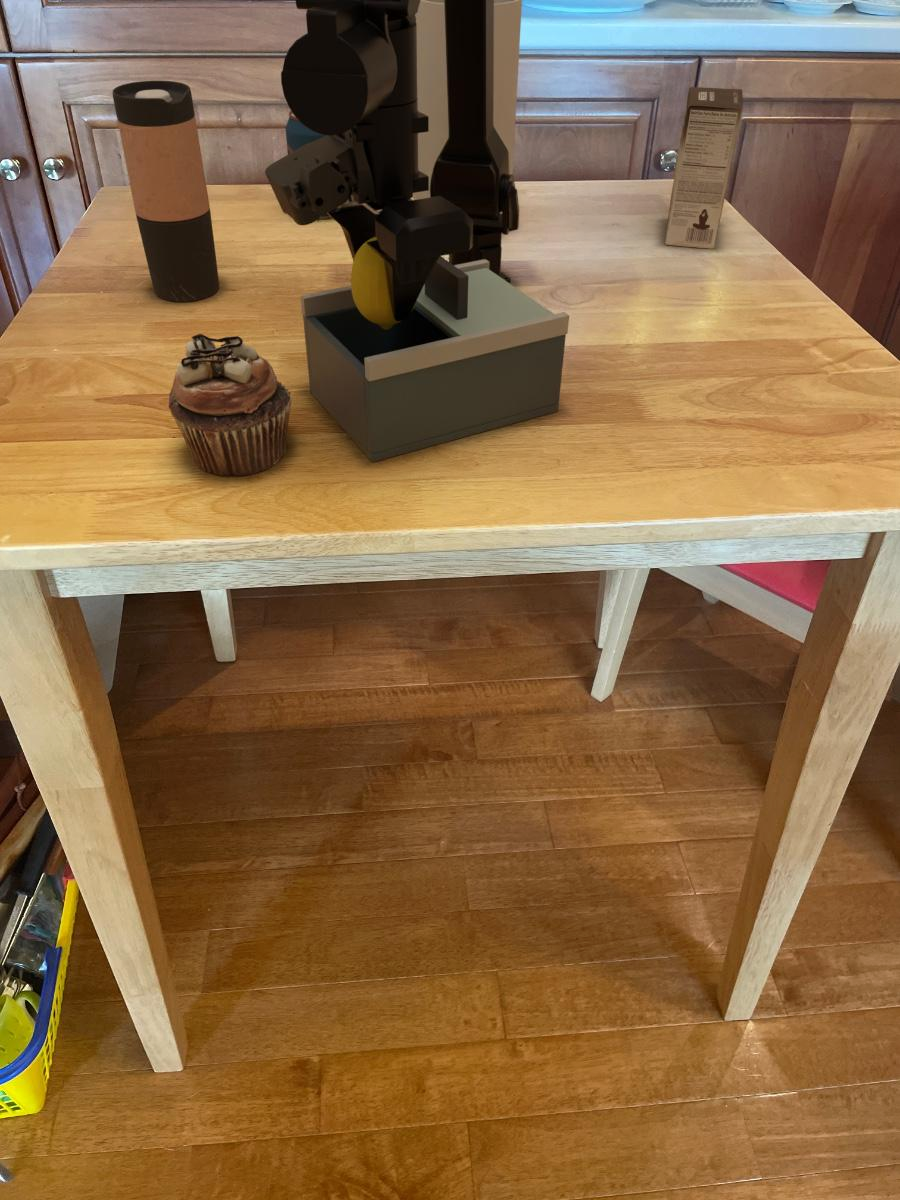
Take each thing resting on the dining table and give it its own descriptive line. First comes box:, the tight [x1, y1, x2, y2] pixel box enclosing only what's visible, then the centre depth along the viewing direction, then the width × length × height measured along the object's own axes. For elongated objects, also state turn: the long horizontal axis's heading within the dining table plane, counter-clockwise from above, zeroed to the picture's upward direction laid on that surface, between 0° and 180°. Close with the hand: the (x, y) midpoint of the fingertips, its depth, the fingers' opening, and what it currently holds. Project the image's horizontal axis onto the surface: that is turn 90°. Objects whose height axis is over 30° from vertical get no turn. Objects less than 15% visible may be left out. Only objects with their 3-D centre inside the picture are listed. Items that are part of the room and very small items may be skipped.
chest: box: [299, 259, 570, 463], centre depth 82 cm, size 14×19×9 cm
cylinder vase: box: [413, 0, 523, 214], centre depth 112 cm, size 12×12×25 cm
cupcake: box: [168, 333, 292, 477], centre depth 75 cm, size 10×10×10 cm
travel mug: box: [112, 80, 220, 303], centre depth 97 cm, size 8×8×20 cm
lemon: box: [350, 237, 416, 330], centre depth 75 cm, size 6×6×8 cm
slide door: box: [415, 256, 555, 337], centre depth 80 cm, size 12×9×4 cm
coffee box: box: [664, 86, 744, 250], centre depth 113 cm, size 9×6×16 cm
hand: (385, 306), depth 77 cm, fingers closed on lemon, 5 cm apart
